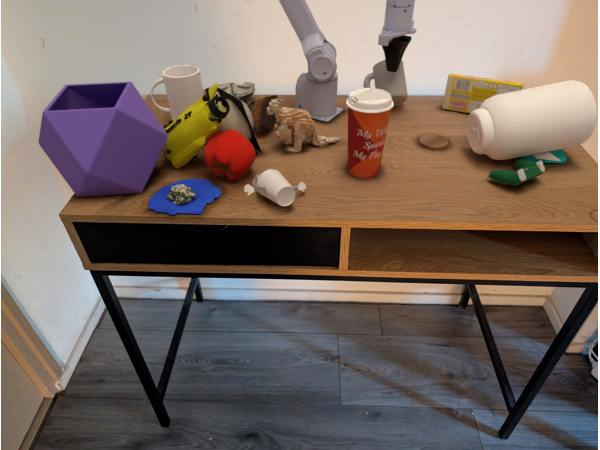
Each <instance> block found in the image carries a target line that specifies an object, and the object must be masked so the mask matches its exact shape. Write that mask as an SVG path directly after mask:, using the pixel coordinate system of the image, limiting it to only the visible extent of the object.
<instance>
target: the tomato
mask: <svg viewBox="0 0 600 450" xmlns="http://www.w3.org/2000/svg"><path fill="white" fill-rule="evenodd" d="M256 155H257V153H256V149H255V148H254V147H253V145H252V143H251V142H249V141H248V140H247V139H246V138H245V137H244V136H243V135H242V134H241V133H239V132H237V131H234V130H226V131H218V132H217V133H215V134H214V135H213V136H212V137H211V138H210V140H209V141H208V142H207V144H206V146H205V147H204V152H203V159H204V162H205V164H206V165H208V169H209V170H210V172H211V173H212V174H213V175H215V176H216V177H221V178H223V177H226V178H227V180H228V181H230V182H232V181H235V180H239V179H240V178H242V177H243V176H244V175H246V174H247V173H248V172H249V170H250V169H251V168H252V165H253V164H254V161H255V159H256Z"/></svg>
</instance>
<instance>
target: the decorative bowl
mask: <svg viewBox="0 0 600 450" xmlns="http://www.w3.org/2000/svg"><path fill="white" fill-rule="evenodd" d="M212 86H213V85H211V86H208V87H207V88H209V89H210V88H211V87H212ZM218 88H220V89H222V90H224V91H225V92H227V93H229V94H230V95H232V96H234V97H235V98H237V99H239V100H241V101H243V102H244V103H245V102H249V101H250V99H251V98H252V97H253V96H254V94H255V92H256V85H255V83H254V82H251V81H249V82H248V81H245V82H243V83H242V84H238V83H236V82H234V81H233V82H229V81H228V82H225V83H218ZM205 89H206V88H203V94H205ZM216 94H218V96H220V95H219V93H218V90H217V91H216ZM216 94H215V95H216ZM214 97H215V96H214ZM215 101H216V100H215Z"/></svg>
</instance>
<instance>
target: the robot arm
mask: <svg viewBox="0 0 600 450" xmlns="http://www.w3.org/2000/svg"><path fill="white" fill-rule="evenodd" d="M278 2H279V4H280V6H281V8H282V10H283V11H284V13H285V15H286V17H287V19H288V21H289V23H290V25H291V27H292V28H293V31H294V32H295V34H296V36H297V38H298V40H299V42H300V45H301V48H302V52H303V56H304V57H305V59H306V62H307V71H306V72H301V74H300V75H299V76H298V77H297V80H296V82H295V108H296V109H302V110H306V111H307V112H308V113H309V115H310V116H311V118H312V120H313V119H314V120H317V121H319V122H320V121H321V122H325V123H329V122H331V121H332V120H333V119H335V118H336V117H337V116H338V115H340V114H341V113H342V112H344V108H342V107H339V106H338V83H339V74H338V72H337V70H338V69H337V68H338V64H337V50H336V47H335V46H334V45H333V43H331V42H330V41H329V40H327V38H326V36H325V34H324V33H323V32H322V30H321V29H320V27H319V26H318V24H317V20H316V19H315V17H314V15H313V13H312V11H311V9H310V7H309V5H308V3H307V1H306V0H278ZM415 4H416V0H386V2H385V11H384V22H383V26H382V28H381V31H380V34H378V40H377V45H378V46H381V47H382V50H383V53H384V58H385V59H384V60H386V69H387V71H390V72H396V71H397V70H398V68H399V65H400V62H401V60H402V61H403V57H404V54H405V52H406V49H407V48H408V46H409V45H410V43H411V41H412V36H410V35H414V34H417V28H415V27H414V26H415V25H414V24H415V20H413V17H414V11H415V10H414V9H415Z"/></svg>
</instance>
